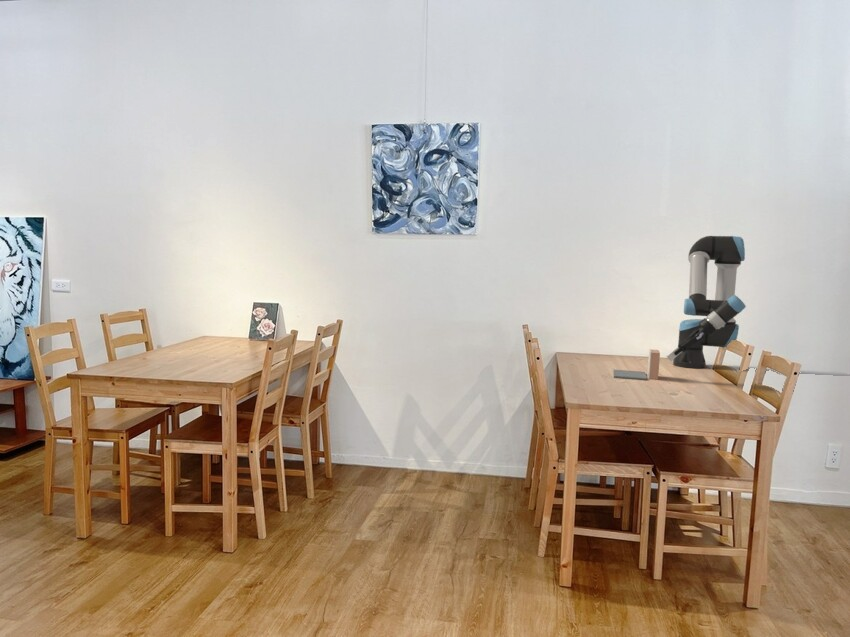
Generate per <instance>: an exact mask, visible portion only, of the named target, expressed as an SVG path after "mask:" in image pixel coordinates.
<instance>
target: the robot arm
mask: <svg viewBox="0 0 850 637" xmlns="http://www.w3.org/2000/svg"><path fill="white" fill-rule="evenodd" d="M745 250H746V249H745V241H744V239H743V237H742V236H733V235H730V236H729V235H706V236H703V237H701V238H700V239H698V240H697V241H696V242H695V243H693V244H692V246H691V248H690V250H689V251H688V259H687V260H688V262H689V263H690V264H689V265H690V267H689V290H688V298H685V299H684V302H683V313H684V315H687V316H698V317H705V318H691V319H685V320H684V319H683V320H681V321H680V322H679V329H678V332H679V333H678V340H677V341H678V345H677V347H675V349H673V350H672V351H671V352H669V353H668V354H667V355H666V358H667V359H668V360H669V361H670V362H672V361H673V362H672V364H673V365H674V366H676V367H680V368H681V367H682V368H690V369H703V368H706V366H707V365H706V364H707V363H706V359H705V355H704V351H703V350H704V347H717V348H718V347H719V348H723V349H725V348H728V347H727V345H728V344H729V343H730V342H731V340H736V341H737V339H738V335H739V329H740V325H739V324H737V321H736V319H735V317H736V316H738V315H739V314H740V313H741V312H743V311H744V310H745V309H746V306H747V305H746V304H745V303H744V301H743V300H742V299H741V298H739V296H737V295H736V284H737V282H736V281H737V273H738V268H739V267H740V266H741V264H742V262H743V261H745V259H746V255H745V254H746V253H745V252H746V251H745ZM710 261H714V265H715V266H716V268H717V270H716V272H717V273H716V283H715V294H714V299H707V291H708V287H707V285H708V263H709V262H710Z"/></svg>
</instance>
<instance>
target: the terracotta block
mask: <svg viewBox="0 0 850 637" xmlns="http://www.w3.org/2000/svg"><path fill="white" fill-rule="evenodd" d="M660 357H661V352H660V350H659V349H651V348H649V350H648V361H647V375H646V376H647V378H648V380H655V381H656V380H659V370H660V359H661V358H660Z"/></svg>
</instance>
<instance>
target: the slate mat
mask: <svg viewBox="0 0 850 637" xmlns="http://www.w3.org/2000/svg"><path fill="white" fill-rule="evenodd" d="M613 378H615V379H624V380H625V379H626V380H637V381H638V380H639V381H647V378H648V377H647V375H646V372H645V371H641V370H640V371H638V370H637V371H636V370H627V369H626V370H625V369H623V370H622V369H613Z"/></svg>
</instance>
